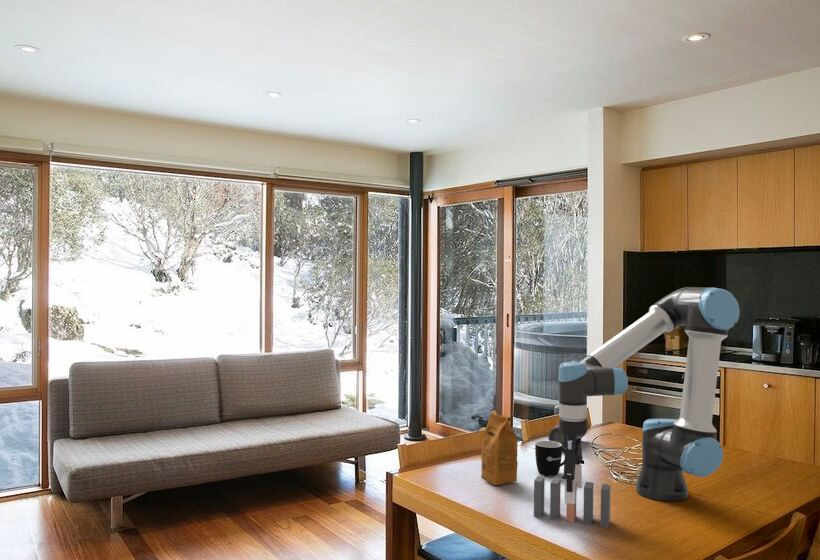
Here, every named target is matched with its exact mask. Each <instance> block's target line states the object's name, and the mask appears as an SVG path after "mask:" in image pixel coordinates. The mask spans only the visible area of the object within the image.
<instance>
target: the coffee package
mask: <svg viewBox="0 0 820 560" xmlns="http://www.w3.org/2000/svg"><path fill="white" fill-rule="evenodd" d="M512 420H513V419H512V417H510V416H505V415H504V416H503V415H498V413H497V412H496V410H492V411H491V413H490V416H489V419H488V422H487V425H486V427H485V429H484V433H483V439H482V445H481V446H482V447H481V454H480V456H481V459H480V461H481V478H484V479H485V481H486V482H487V483H489V484H492V485H493V486H500V485H503V484H511V483H512V484H513V483H514V482H517V481H518V475H517V474H518V465H519V464H518V437H517V435H516V433H515V430H514V429H513V428H512V426H511V423H510V422H512Z"/></svg>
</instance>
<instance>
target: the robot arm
mask: <svg viewBox="0 0 820 560" xmlns="http://www.w3.org/2000/svg"><path fill="white" fill-rule="evenodd" d="M740 312H741V311H740V305H739V302H738V300H737V299H736V297H735V296H734V295H733V294H732V293H731V292H730V291H729V290H726V289H723V288H717V287H714V286H713V287H697V286H695V287H694V286H686V287H682V288H679V289H677V290H675V291H672V292H671V293H669V294H667V295H665V296H664V297H662V298H661V299H659V300H657V302H655V303H654V304H652V305H651V306H650V307H649V308H648V312H646V313H645V314H644V315H643V316H641V317H640V318H638V319H637V320H635V321H634V322H633V323H632V324H630V325H629V326H627V327H625V328H624V329H623V330H622V331H620V332H618V333H617V334H616V335H615V336H613V337H611V339H609V340H608V341H606V342H605V343H603V344H602V345H601V346H599V347H598V348H595V350H593V351H592V352H591V353H589V354H588V355H586V356H584V358H582V359H580V360H571V361H564V362H562V363H561V364H559V367H558V378H557V381H558V402H559V403H558V405H557V406H556V409H557V410H559V411H558V416H559V417H560V418H559V419H558V424H559V431H560V432H561V433H562V434H566V435H567V436H568V437H567V438H566V440H565V452H564V459H565V460H563V461H564V465H563V475H561V479H562V480H564V504H567V503H570V504H575V480H577V489H583V482H582V480H583V476H582V474H583V473H582V472H583V469H582V466H583V465H585V460H584V458H583V450H582V449H583V447H582V438H581V435H584V434H585V435H586V434H587V432H588V430H587V428H588V420H587V419H588V397H598V396H602V397H603V396H616V395H618V396H619V395H623V394H625V393H626V391H627V390H628V386H629V384H628V383H629V382H628V381H629V378H628V375H627V373H626V371H625V370H624V369H623V368H620V367H618V366H619V365H621V364H622V363H623V362H625V361H626V360H628V359H629V358H630V357H631V356H633V355H634V354H635V353H638V351H640V350H642V349H643V348H644V347H645V346H647V345H648V344H650V343H651V342H652V341H654V340H655V339H656V338H658V337H659V336H661V335H662V334H663V333H665V332H666V333H670V332H673V330H675V329H677V328H679V327H684V330H683V331H684V332H685V334H686V335H687V337H688V344H687V345H688V346H687V352H686V353H687V355H686V362H685V369H684V370H685V371H684V380H683V388H682V396H681V403H680V412H679V413H680V414H679V418H678V419H674V418H648V419H646V420H644V421H643V422H642V423H643V425H642V431H641V432H642V433H641V434H642V449H641V450H642V455H641V457H642V459H641V461H642V465H641V469H640V472H639V474H638V477H637V480H636V483H635V491H636V493H637V494H639V495H641V496H643V497H645V498H648V499H652V500H657V501H663V502H681V501H685V500H687V499H688V498H689V487H688V483H687V482H686V477H685V475H684V473H686V474H687V475H693V476H695V477H699V478H704V477H708V476H710V475H712V474H713V473H714V472H716V471H718V469H719V468H720V467H721V464H722V462H723V459H724V450H723V447H722V446H721V443H720V442H719V441H718V440H717V429H716V428H715V426H714V424H713V415H714V406H715V397H716V391H717V390H716V389H717V381H718V372H719V365H720V364H719V362H720V356H721V355H720V354H721V348H722V347H721V346H722V341H724V340H725V339H726V338H727V337H729V335H728V334H729V329H731V328H733V327H735V324H737V323H738V321H739V318H740V314H741V313H740ZM680 500H681V501H680Z"/></svg>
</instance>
